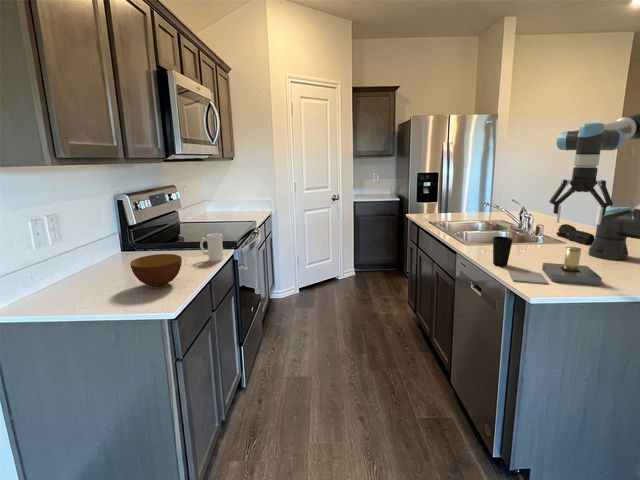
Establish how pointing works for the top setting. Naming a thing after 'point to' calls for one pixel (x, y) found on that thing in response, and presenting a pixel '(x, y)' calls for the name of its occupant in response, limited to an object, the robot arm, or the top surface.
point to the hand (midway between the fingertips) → (577, 223)
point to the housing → (571, 274)
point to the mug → (213, 247)
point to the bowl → (156, 269)
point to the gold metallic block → (572, 259)
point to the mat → (528, 277)
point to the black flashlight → (575, 234)
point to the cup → (501, 250)
